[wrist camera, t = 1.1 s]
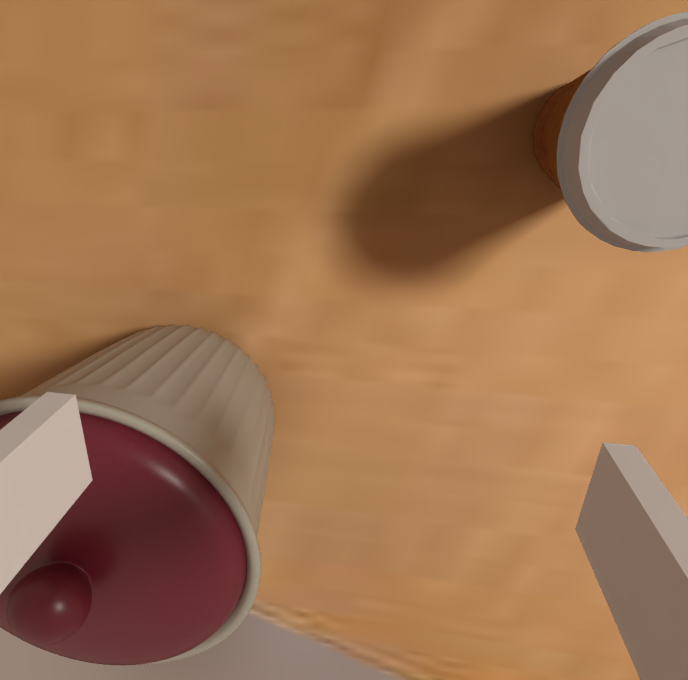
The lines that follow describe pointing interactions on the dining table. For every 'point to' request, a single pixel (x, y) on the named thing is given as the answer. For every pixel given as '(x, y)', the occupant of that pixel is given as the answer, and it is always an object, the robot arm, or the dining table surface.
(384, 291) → the dining table surface
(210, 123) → the dining table surface
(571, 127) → the disposable coffee cup
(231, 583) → the canister
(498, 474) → the dining table surface
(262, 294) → the dining table surface
